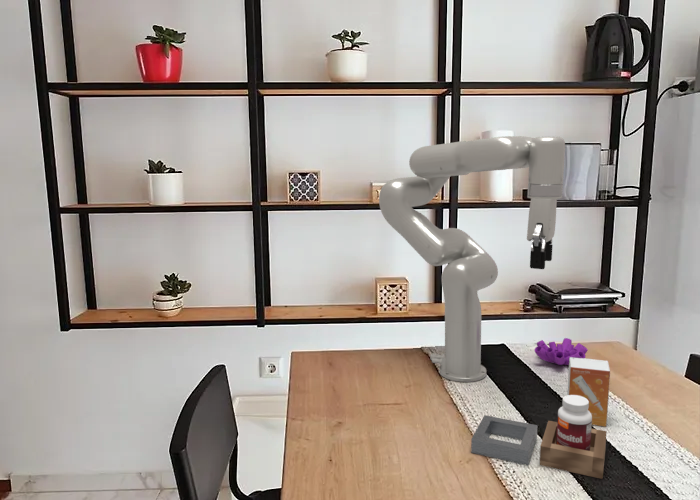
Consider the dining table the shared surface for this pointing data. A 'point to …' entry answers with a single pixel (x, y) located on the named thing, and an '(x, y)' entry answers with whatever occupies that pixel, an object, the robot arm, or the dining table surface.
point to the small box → (591, 385)
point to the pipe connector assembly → (560, 351)
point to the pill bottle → (574, 423)
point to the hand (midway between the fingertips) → (541, 264)
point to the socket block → (502, 448)
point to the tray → (573, 453)
